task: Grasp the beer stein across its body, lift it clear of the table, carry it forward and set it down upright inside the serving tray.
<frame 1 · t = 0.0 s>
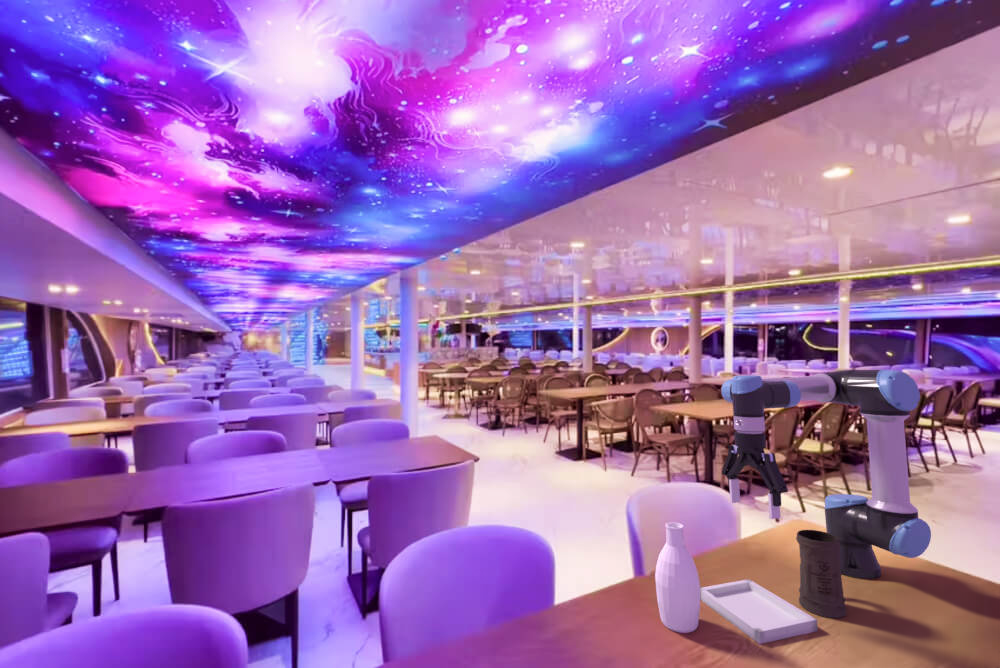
hand: (754, 509, 122), 28 cm above the table, fingers open, 13 cm apart
beer stein: (818, 603, 126), on the table
bottle: (679, 624, 118), on the table
tray: (753, 613, 122), on the table
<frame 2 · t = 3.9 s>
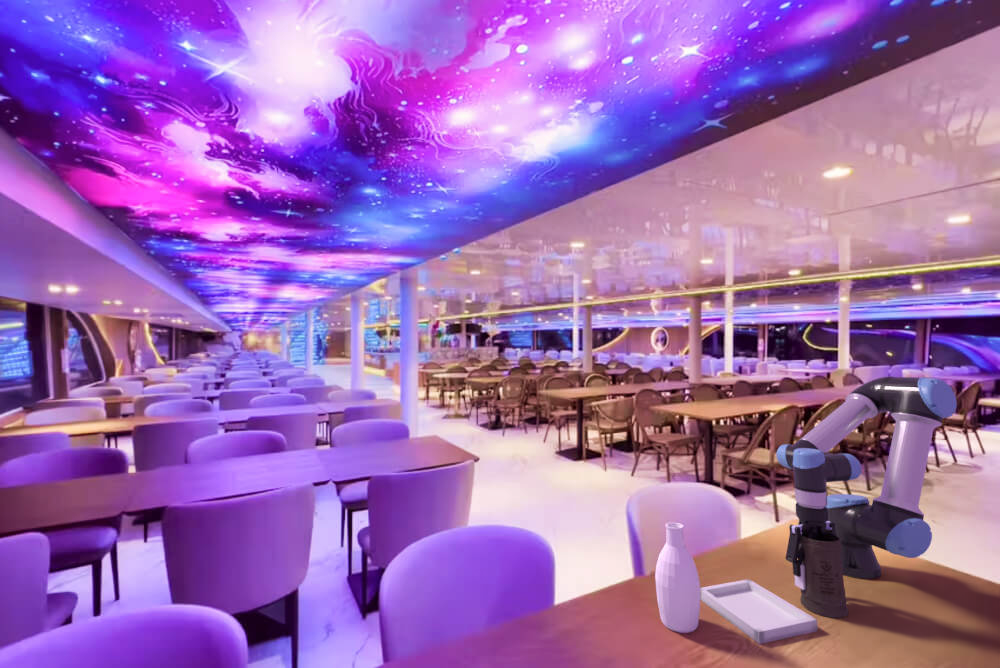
hand: (815, 584, 126), 5 cm above the table, fingers closed on beer stein, 10 cm apart
beer stein: (819, 603, 126), on the table, touching gripper
everything else where it was.
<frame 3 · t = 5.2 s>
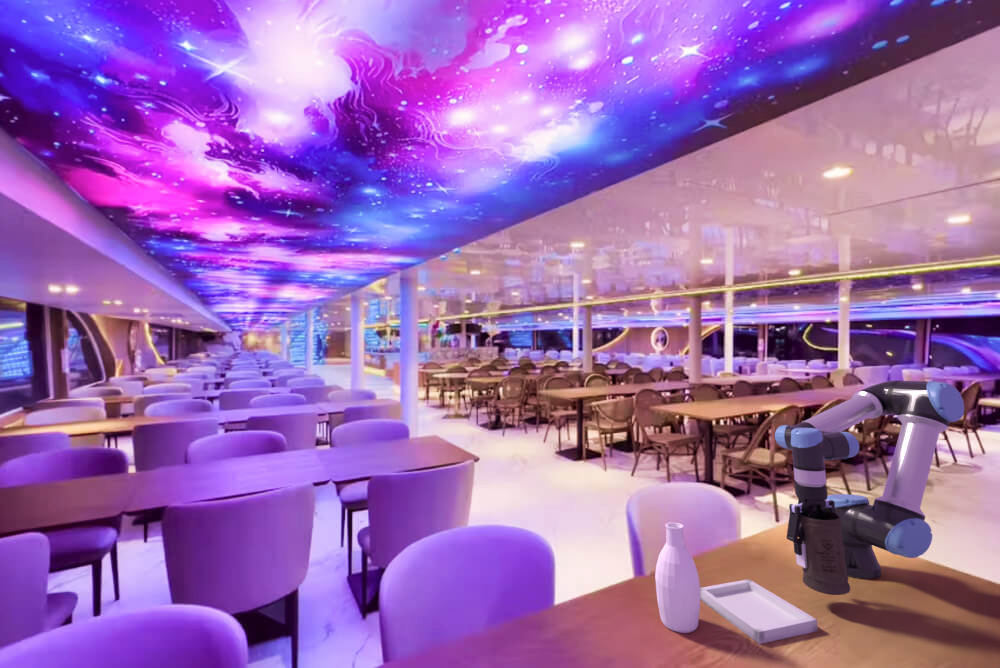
hand: (816, 562, 127), 11 cm above the table, fingers closed on beer stein, 10 cm apart
beer stein: (821, 581, 127), point 6 cm above the table, touching gripper
everything else where it was.
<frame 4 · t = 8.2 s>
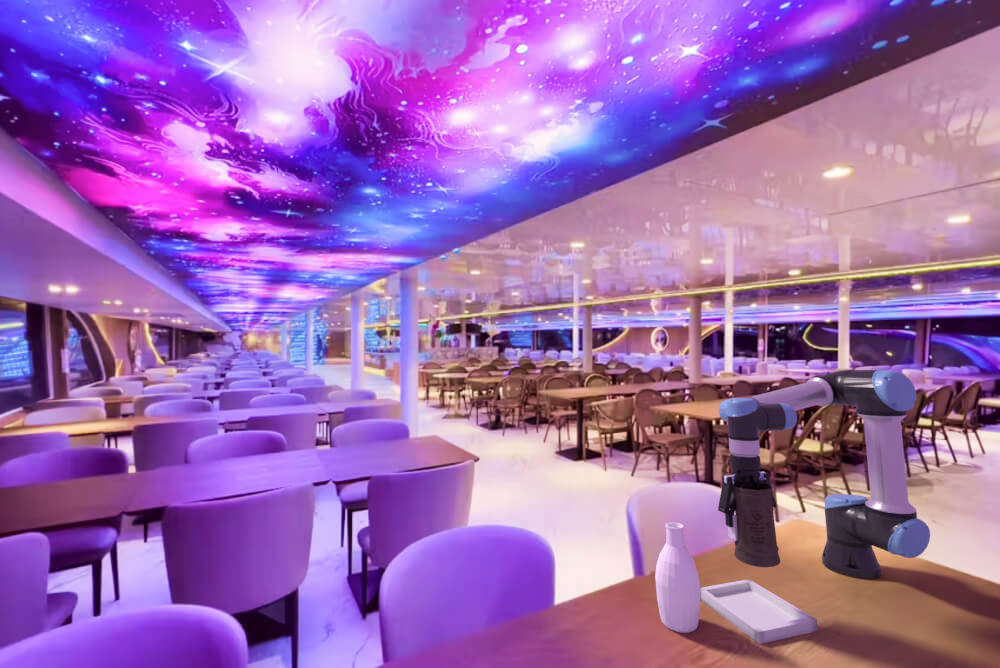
hand: (749, 536, 123), 21 cm above the table, fingers closed on beer stein, 10 cm apart
beer stein: (753, 555, 123), point 15 cm above the table, touching gripper
everything else where it was.
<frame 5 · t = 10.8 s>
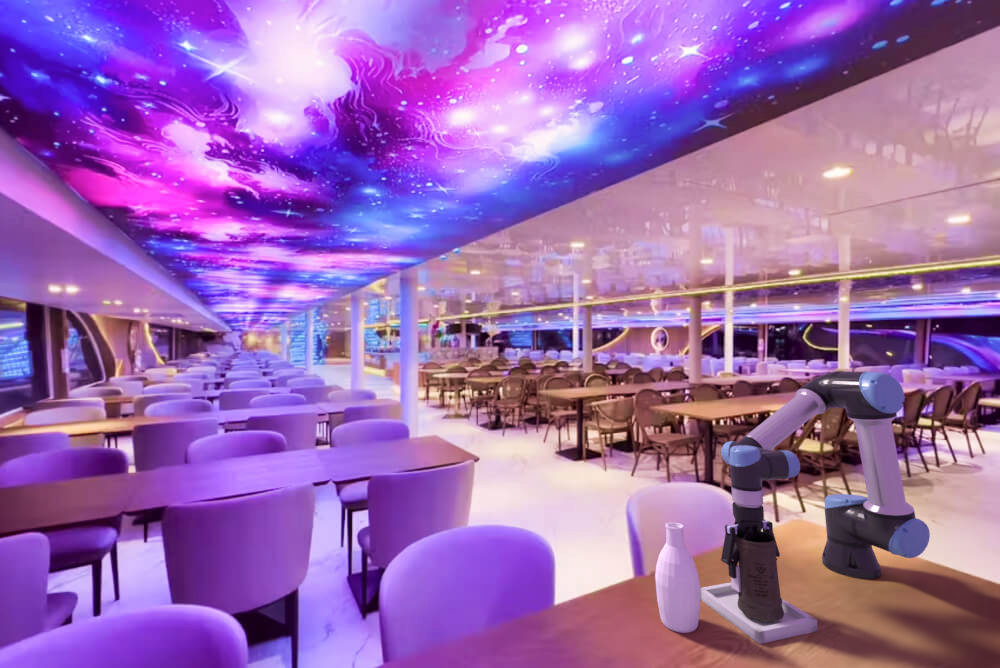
hand: (752, 586, 122), 7 cm above the table, fingers closed on beer stein, 10 cm apart
beer stein: (756, 605, 122), point 2 cm above the table, touching gripper
everything else where it was.
when the fingers open (7 cm above the table, at t = 11.4 s): beer stein drops 1 cm, resting on tray.
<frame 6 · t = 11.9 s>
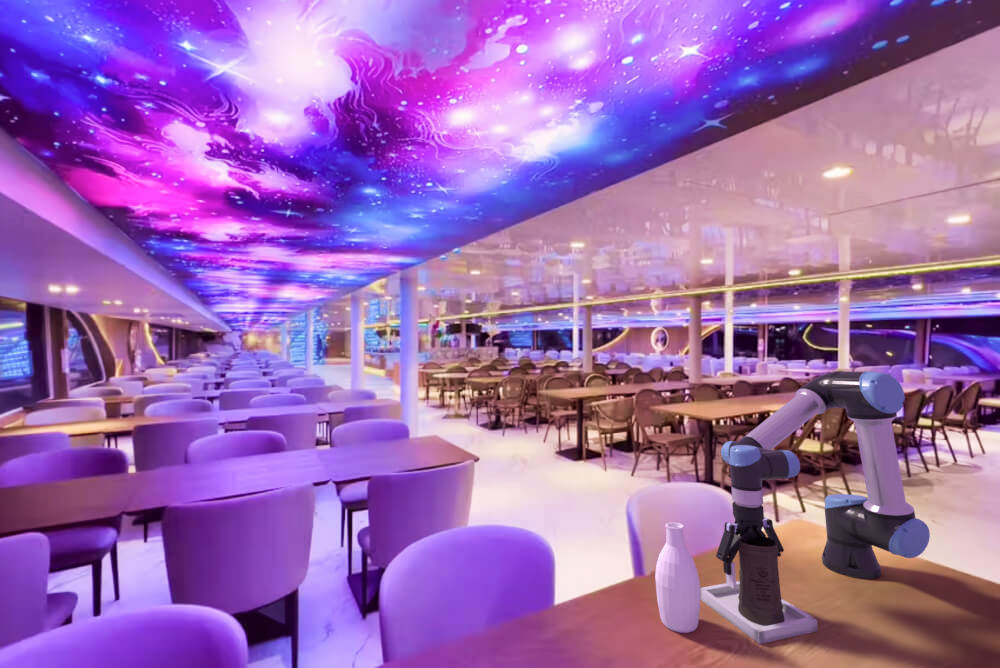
hand: (752, 582, 122), 8 cm above the table, fingers open, 13 cm apart
beer stein: (756, 610, 122), point 1 cm above the table, touching tray
everything else where it was.
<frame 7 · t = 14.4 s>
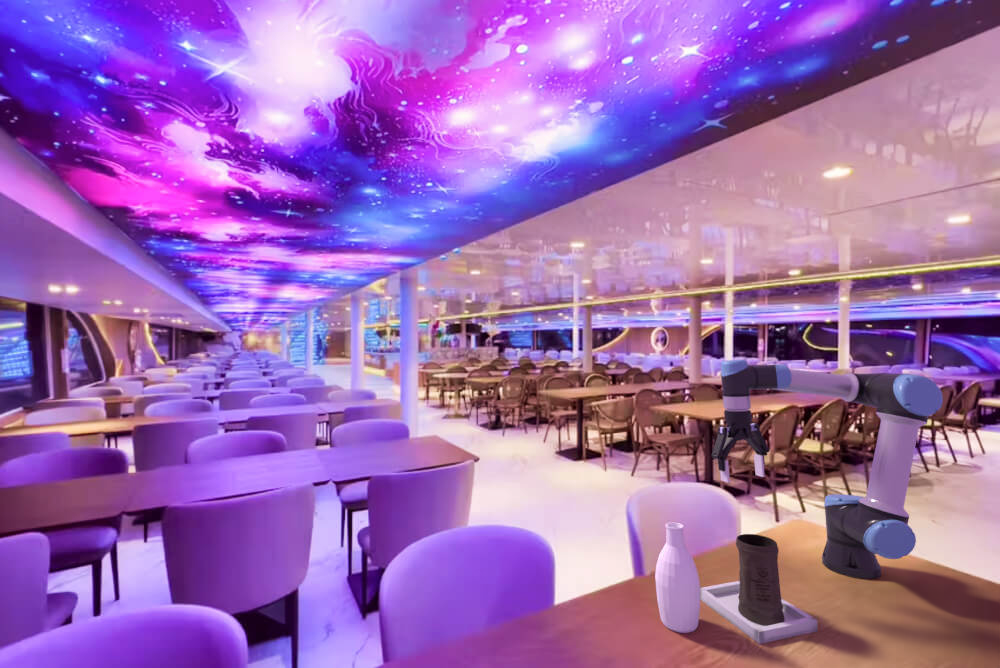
hand: (742, 478, 138), 32 cm above the table, fingers open, 13 cm apart
nothing on the table moved.
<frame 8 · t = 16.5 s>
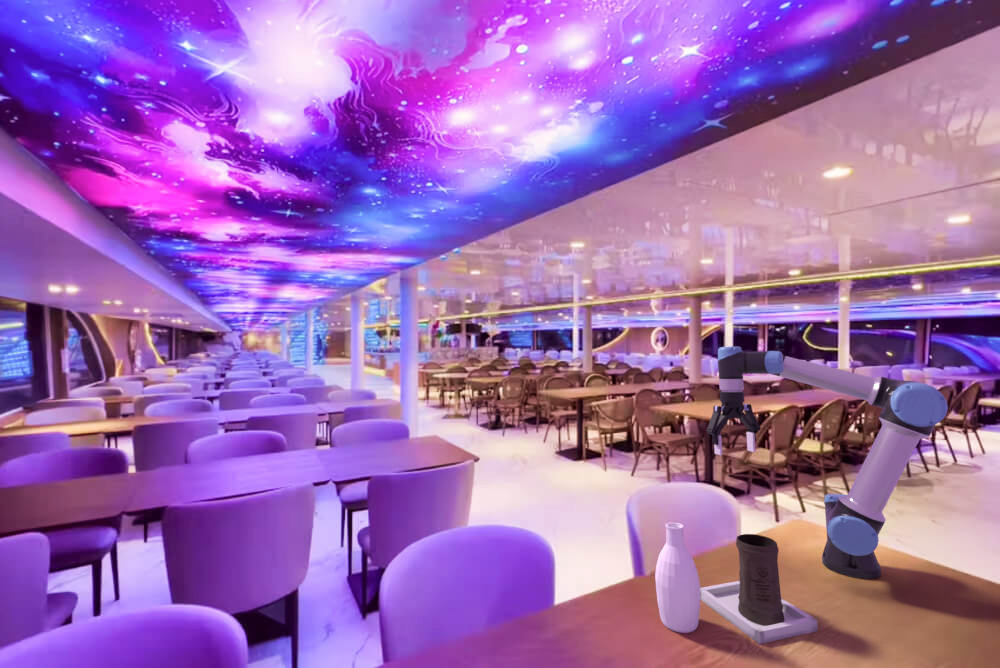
hand: (735, 452, 154), 37 cm above the table, fingers open, 13 cm apart
nothing on the table moved.
at the end: beer stein 1.1 cm from the tray (horizontally); beer stein point 0.6 cm above the table; beer stein tilted 0° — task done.
